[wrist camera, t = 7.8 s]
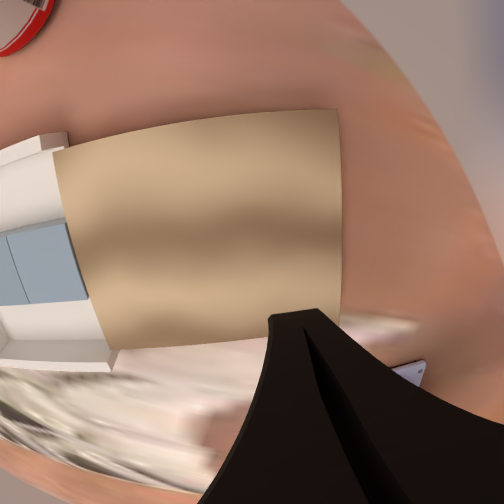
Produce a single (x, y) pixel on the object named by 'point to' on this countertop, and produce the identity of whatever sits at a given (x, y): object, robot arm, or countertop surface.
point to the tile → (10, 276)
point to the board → (207, 225)
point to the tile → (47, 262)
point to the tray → (44, 314)
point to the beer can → (21, 22)
